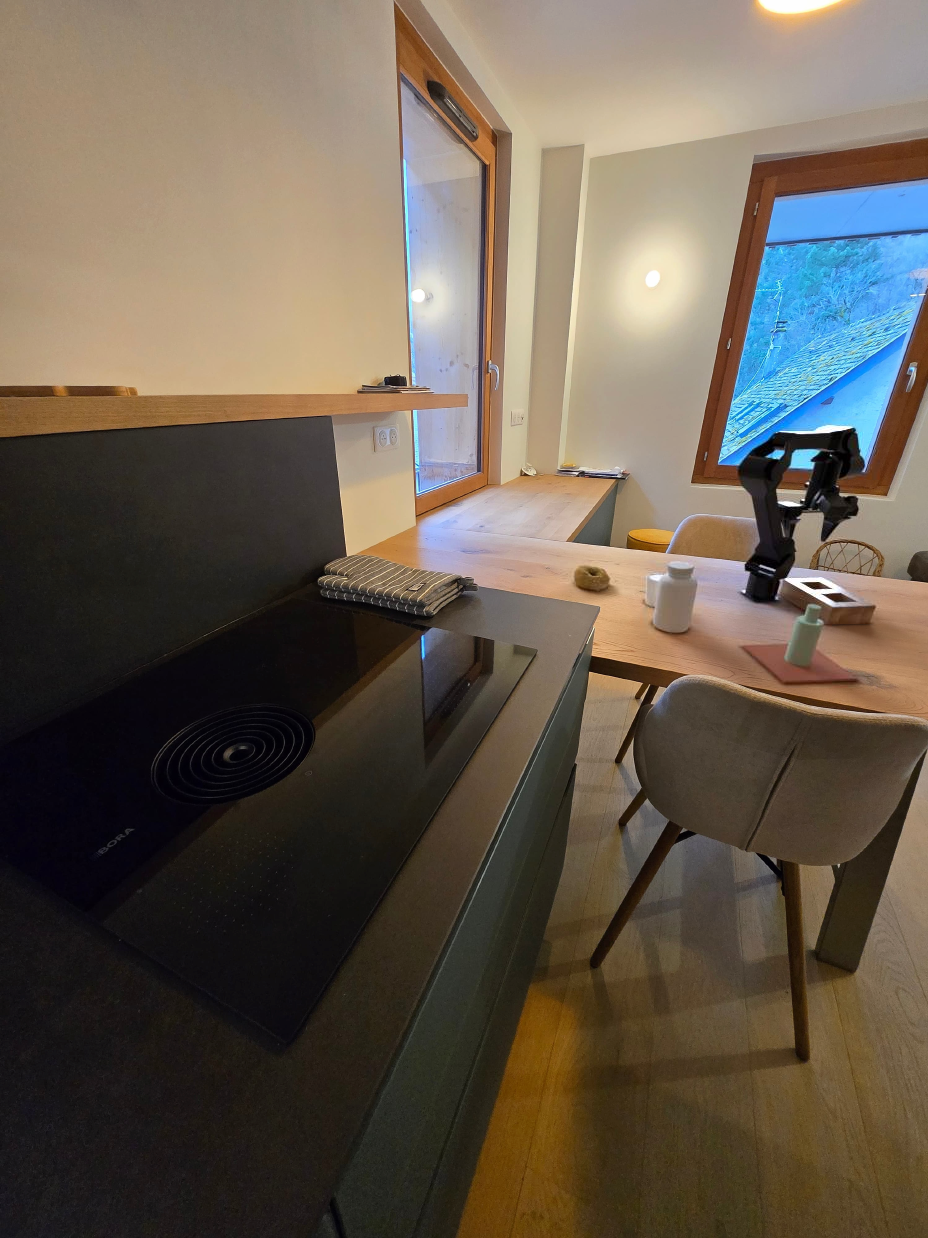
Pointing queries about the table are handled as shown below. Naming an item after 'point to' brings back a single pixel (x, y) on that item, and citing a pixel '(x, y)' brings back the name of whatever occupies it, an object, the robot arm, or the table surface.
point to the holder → (828, 600)
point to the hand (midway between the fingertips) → (805, 542)
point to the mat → (789, 673)
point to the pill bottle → (675, 598)
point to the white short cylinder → (652, 588)
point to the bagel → (591, 577)
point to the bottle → (804, 637)
